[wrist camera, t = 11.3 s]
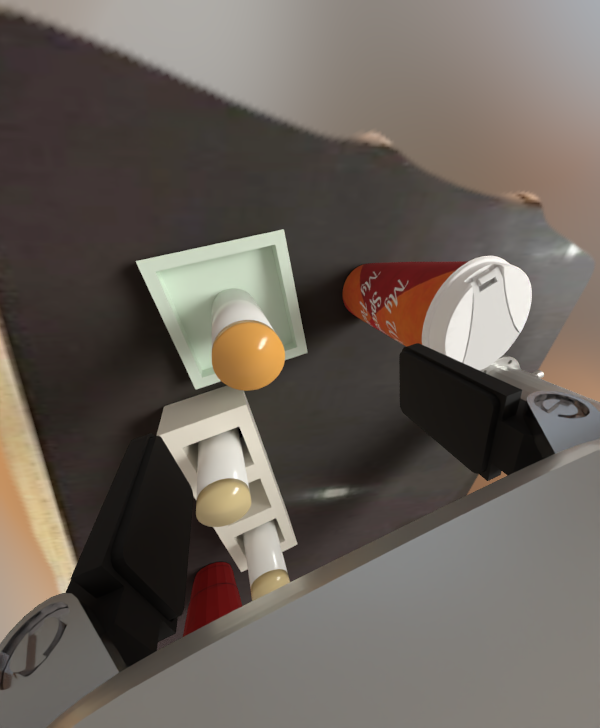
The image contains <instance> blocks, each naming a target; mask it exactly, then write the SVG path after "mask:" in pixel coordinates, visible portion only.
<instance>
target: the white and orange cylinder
mask: <svg viewBox="0 0 600 728" xmlns="http://www.w3.org/2000/svg"><path fill="white" fill-rule="evenodd" d="M211 316H212V366H213V370H214V372H215V374H216V375H217V377H218V378H219V379H220V380H221V381H222V382H223V383H224V384H226V385H227V386H229V387H231V388H234V389H237V390H245V391H246V390H255V389H259V388H262V387H264V386H266V385H268V384H269V383H271V382H272V381H273V380H274V379H275V378H276V377H277V376H278V375H279V374H280V372H281V370H282V368H283V365H284V362H285V350H284V347H283V344H282V342H281V340H280V339H279V337H278V336H277V334H276V333H275V331H274V329H273V328H272V326H271V325H270V323H269V322H268V320H267V319H266V317H265V315H264V314H263V312H262V311H261V309H260V308H259V306H258V305H257V303H256V301H255V300H254V298H253V297H252V296H251V295H250V294H249V293H247V292H246V291H244V290H241V289H236V288H231V289H227V290H224V291H222V292H221V293H219V294H218V295H217V296H216V297H215V299H214V301H213V303H212V309H211Z"/></svg>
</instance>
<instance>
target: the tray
mask: <svg viewBox="0 0 600 728" xmlns="http://www.w3.org/2000/svg"><path fill="white" fill-rule="evenodd" d="M136 263H137V266H138V268H139V270H140V272H141V274H142V276H143V278H144V280H145V283H146V285H147V287H148V289H149V291H150V293H151V295H152V298H153V300H154V302H155V304H156V306H157V308H158V310H159V312H160V315H161V317H162V319H163V321H164V323H165V325H166V327H167V329H168V332H169V334H170V336H171V338H172V340H173V342H174V344H175V347H176V349H177V351H178V353H179V355H180V357H181V359H182V361H183V364H184V366H185V368H186V370H187V372H188V374H189V376H190V379H191V381H192V383H193V385H194V387H195V389H199V388H202V387H205V386H208V385H211V384H214V383H217V382H220V381H221V380H220V379H219V378H218V377H217V375H216V374H215V372H214V370H213V366H212V316H211V309H212V303H213V301H214V299H215V297H216V296H217V295H218V294H219V293H221V292H222V291H224V290H227V289H231V288H236V289H241V290H244V291H246V292H247V293H249V294H250V295H251V296H252V297H253V298H254V300H255V301H256V303H257V305H258V306H259V308H260V309H261V311H262V312H263V314H264V315H265V317H266V319H267V320H268V322H269V323H270V325H271V326H272V328H273V329H274V331H275V333H276V334H277V336H278V337H279V339H280V340H281V342H282V344H283V347H284V350H285V360H287V359H290V358H293V357H296V356H299V355H302V354H305V353H308V352H307V347H306V341H305V336H304V331H303V326H302V321H301V316H300V311H299V306H298V300H297V295H296V290H295V285H294V280H293V275H292V270H291V264H290V259H289V254H288V249H287V244H286V239H285V234H284V229H283V230H279V231H274V232H269V233H265V234H260V235H255V236H251V237H246V238H241V239H237V240H232V241H228V242H223V243H218V244H214V245H209V246H204V247H200V248H195V249H190V250H186V251H181V252H176V253H172V254H167V255H163V256H158V257H153V258H149V259H144V260H139V261H136Z"/></svg>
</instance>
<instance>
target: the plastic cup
mask: <svg viewBox="0 0 600 728" xmlns="http://www.w3.org/2000/svg"><path fill="white" fill-rule="evenodd" d="M240 607H242V603H241V599H240V595H239V591H238V588H237V586H236V582H235V578H234V574H233V570H232V568H231V566H230V565H229V564H228V563H225V562H216V563H213V564H210V565H207V566H206V567H204V568H202V569H201V570H200V571H199V572H198V573H197V574H196V577H195V580H194V583H193V588H192V593H191V599H190V603H189V607H188V612H187V618H186V623H185V628H184V634H183V637H184V636H186V635H188V634H190V633H192V632H194V631H196V630H198V629H199V628H201V627H203V626H205V625H207V624H209V623H211V622H213V621H215V620H217V619H219V618H221V617H223V616H224V615H226V614H228V613H230V612H232V611H234V610H236V609H238V608H240Z"/></svg>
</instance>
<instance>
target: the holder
mask: <svg viewBox="0 0 600 728" xmlns="http://www.w3.org/2000/svg"><path fill="white" fill-rule="evenodd" d="M236 427H240V430H241V432H242V435H243V437H242V438H240V441H241V446H242V452H243V457H244V463H245V468H246V474H247V479H248V485H249V490H250V496H251V506H250V509H249V511H248V512H247V513H246V514H245V515H244V516H243V517H242V518H241V519H239V520H238V521H236V522H234V523H232V524H229V525H226V526H222V527H213V528H214V529H215V531H216V533H217V534H218V536H219V537H220V539H221V540H222V542H223V544H224V545H225V547H226V548H227V550H228V552H229V553H230V555H231V556H232V558H233V560H234V561H235V563H236V564H237V566H238V568H239V569H240V571H241V572H243V571H245V570H247V569H248V566H247V559H246V552H245V545H244V537H243V533H245V532H247V531H249V530H251V529H253V528H256V527H258V526H260V525H262V524H264V523H266V522H268V521H271V520H273V519H274V523H275V527H276V530H277V534H278V538H279V542H280V546H281V550H282V552H283V551H285V550H287V549H289V548H291V547H293V546H295V545H297V541H296V538H295V535H294V532H293V528H292V525H291V522H290V519H289V515H288V512H287V510H286V507H285V504H284V501H283V498H282V496H281V493H280V490H279V487H278V485H277V482H276V479H275V476H274V473H273V471H272V468H271V465H270V462H269V460H268V457H267V454H266V451H265V448H264V446H263V443H262V440H261V437H260V435H259V432H258V429H257V426H256V423H255V421H254V418H253V415H252V412H251V409H250V407H249V404H248V401H247V398H246V396H245V393H244V390H237V389H234V388H231V387H229V386H224V387H221V388H218V389H215V390H212V391H209V392H206V393H203V394H200V395H197V396H194V397H191V398H188V399H185V400H182V401H179V402H176V403H173V404H170V405H167V406H164V408H163V412H162V416H161V420H160V424H159V428H158V432H157V435H156V436H160V437H161V438H162V439H163V441H164V442H165V444H166V446H167V447H168V449H169V451H170V452H171V454H172V456H173V457H174V459H175V461H176V462H177V464H178V466H179V467H180V469H181V471H182V472H183V474H184V476H185V477H186V479H187V481H188V482H189V484H190V486H191V488H192V491H193V496H194V497H195V499H196V497H197V468H198V442H199V441H201V440H204V439H207V438H210V437H212V436H215V435H218V434H220V433H223V432H226V431H228V430H231V429H234V428H236Z"/></svg>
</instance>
